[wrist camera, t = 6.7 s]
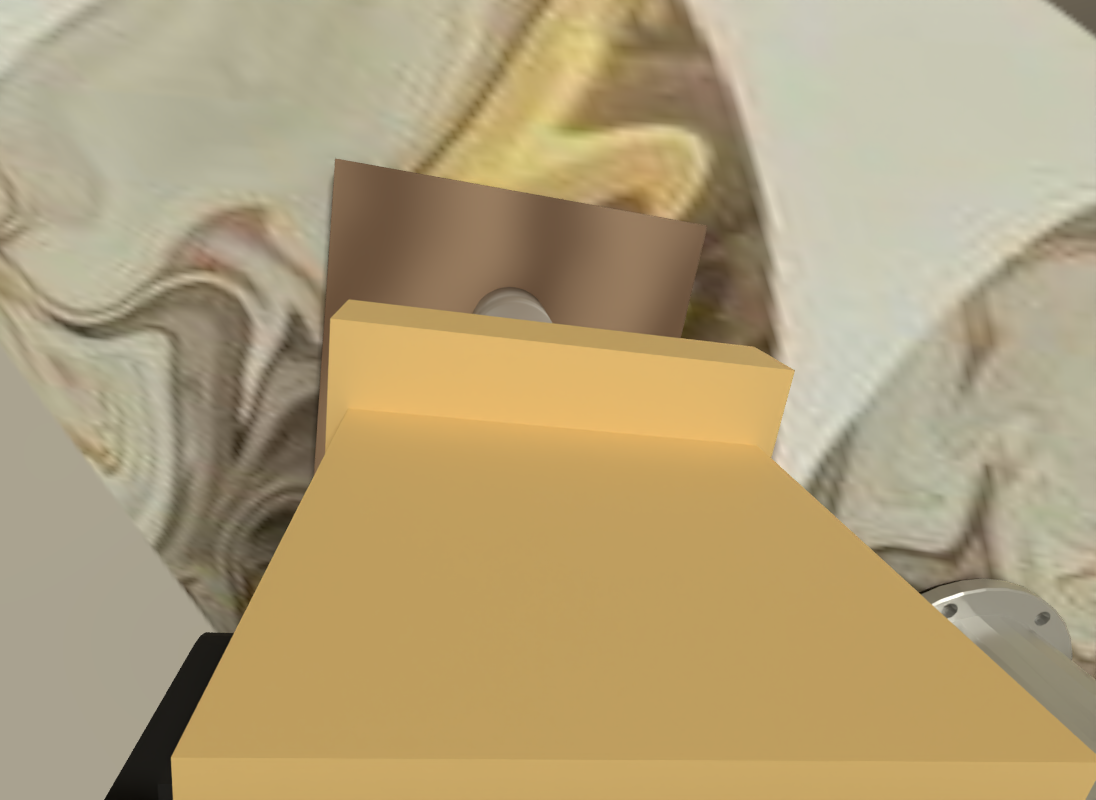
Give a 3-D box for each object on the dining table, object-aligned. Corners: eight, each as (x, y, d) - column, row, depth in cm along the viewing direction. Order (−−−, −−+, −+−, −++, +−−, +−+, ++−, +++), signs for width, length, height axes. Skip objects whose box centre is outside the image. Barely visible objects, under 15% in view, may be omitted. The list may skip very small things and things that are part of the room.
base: (696, 224, 26) (749, 233, 21) (609, 599, 31) (634, 676, 26) (341, 159, 24) (307, 153, 19) (312, 575, 29) (280, 655, 24)
